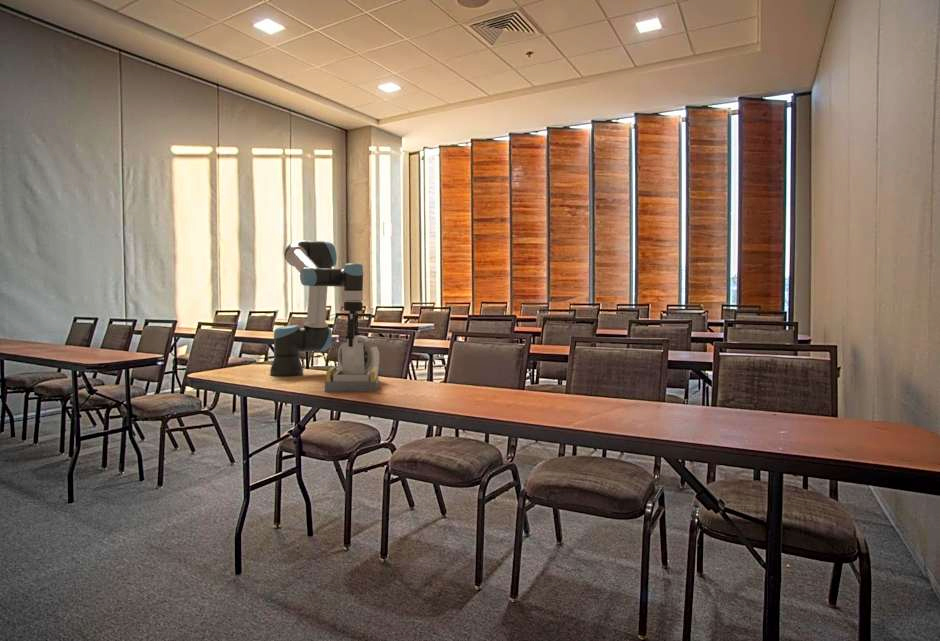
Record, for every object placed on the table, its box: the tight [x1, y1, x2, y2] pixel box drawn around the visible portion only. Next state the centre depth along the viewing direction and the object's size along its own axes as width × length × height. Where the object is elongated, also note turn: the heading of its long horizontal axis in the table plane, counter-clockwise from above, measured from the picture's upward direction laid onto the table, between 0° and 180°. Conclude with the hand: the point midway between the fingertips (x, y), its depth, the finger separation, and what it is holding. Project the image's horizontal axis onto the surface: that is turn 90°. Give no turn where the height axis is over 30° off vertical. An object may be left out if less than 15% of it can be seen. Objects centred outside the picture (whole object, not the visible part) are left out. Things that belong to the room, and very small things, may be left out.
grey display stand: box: [324, 366, 379, 393], centre depth 235 cm, size 16×20×9 cm
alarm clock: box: [337, 335, 380, 375], centre depth 258 cm, size 18×8×20 cm, turn 73°
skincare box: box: [341, 342, 364, 375], centre depth 235 cm, size 8×6×15 cm
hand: (352, 352), depth 234 cm, fingers open, 13 cm apart
